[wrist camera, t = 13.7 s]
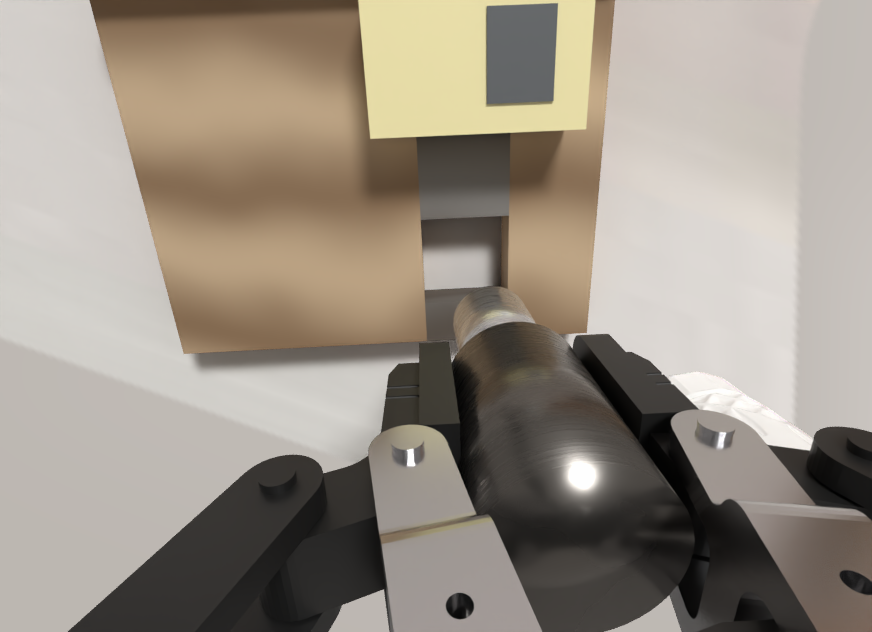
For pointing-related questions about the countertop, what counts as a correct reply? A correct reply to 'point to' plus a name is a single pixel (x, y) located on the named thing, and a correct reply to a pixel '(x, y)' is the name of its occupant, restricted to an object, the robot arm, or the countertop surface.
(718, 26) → the countertop surface
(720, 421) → the robot arm
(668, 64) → the countertop surface
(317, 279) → the board
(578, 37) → the stud finder
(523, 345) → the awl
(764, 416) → the white cup
